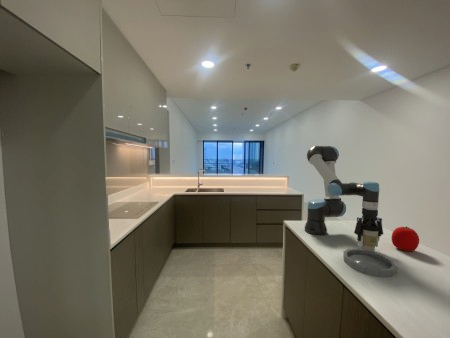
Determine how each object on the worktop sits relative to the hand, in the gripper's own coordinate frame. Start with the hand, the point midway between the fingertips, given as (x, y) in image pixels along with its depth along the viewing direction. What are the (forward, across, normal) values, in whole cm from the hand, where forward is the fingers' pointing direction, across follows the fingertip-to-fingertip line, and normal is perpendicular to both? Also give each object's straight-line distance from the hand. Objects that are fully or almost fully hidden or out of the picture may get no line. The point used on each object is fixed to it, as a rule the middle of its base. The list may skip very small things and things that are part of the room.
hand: (367, 246), depth 117 cm
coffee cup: (+3, 0, 0) cm, 3 cm away
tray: (+2, -12, -15) cm, 19 cm away
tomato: (+3, +23, 0) cm, 23 cm away
